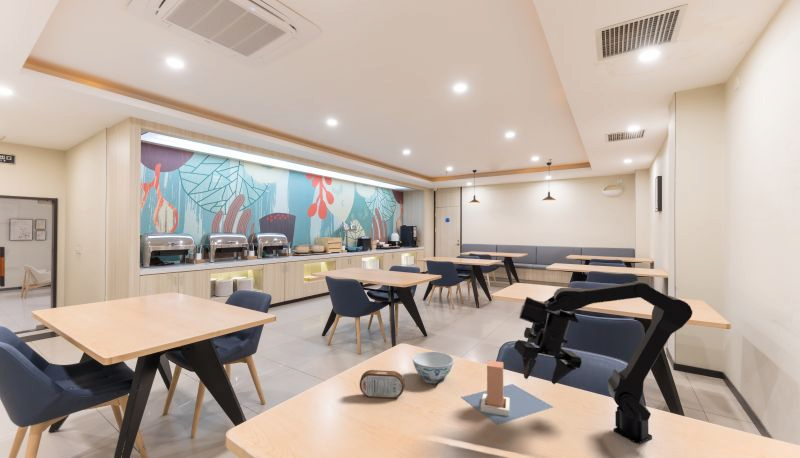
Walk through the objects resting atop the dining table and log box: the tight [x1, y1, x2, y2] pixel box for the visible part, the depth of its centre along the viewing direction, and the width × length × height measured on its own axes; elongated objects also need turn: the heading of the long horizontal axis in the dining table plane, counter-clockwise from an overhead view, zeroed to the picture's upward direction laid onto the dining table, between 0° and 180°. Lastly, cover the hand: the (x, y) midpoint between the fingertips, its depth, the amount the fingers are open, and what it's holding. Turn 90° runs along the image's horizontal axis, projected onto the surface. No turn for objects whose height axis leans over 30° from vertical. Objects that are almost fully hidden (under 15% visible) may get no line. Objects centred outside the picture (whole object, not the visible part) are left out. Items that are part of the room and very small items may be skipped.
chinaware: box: [412, 351, 454, 384], centre depth 122 cm, size 15×15×8 cm
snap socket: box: [481, 394, 510, 416], centre depth 100 cm, size 8×8×2 cm
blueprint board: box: [460, 383, 554, 426], centre depth 103 cm, size 17×22×1 cm
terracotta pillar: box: [486, 360, 505, 408], centre depth 100 cm, size 4×4×13 cm
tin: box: [359, 369, 406, 400], centre depth 109 cm, size 15×3×8 cm, turn 84°
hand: (539, 380), depth 96 cm, fingers open, 9 cm apart
